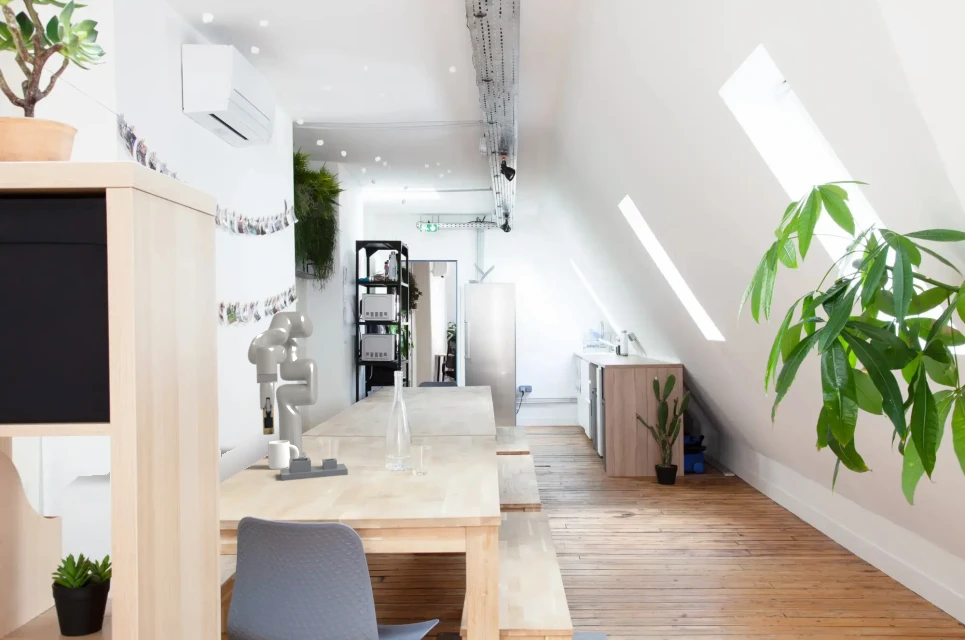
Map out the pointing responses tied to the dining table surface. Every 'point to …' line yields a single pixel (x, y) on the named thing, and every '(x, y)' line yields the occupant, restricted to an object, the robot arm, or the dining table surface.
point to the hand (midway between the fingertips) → (268, 426)
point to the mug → (280, 454)
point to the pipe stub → (268, 430)
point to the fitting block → (312, 469)
